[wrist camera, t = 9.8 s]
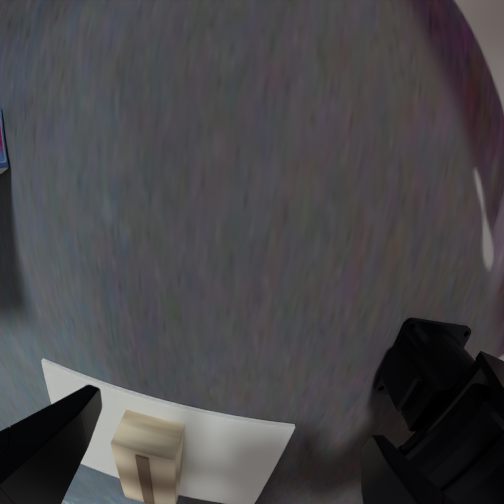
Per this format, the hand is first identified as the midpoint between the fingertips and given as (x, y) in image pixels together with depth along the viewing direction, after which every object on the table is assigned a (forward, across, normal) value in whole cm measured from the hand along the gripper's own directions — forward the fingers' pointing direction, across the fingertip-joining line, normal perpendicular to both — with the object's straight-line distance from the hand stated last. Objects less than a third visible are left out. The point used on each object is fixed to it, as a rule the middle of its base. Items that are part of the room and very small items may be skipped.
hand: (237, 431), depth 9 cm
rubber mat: (+11, +5, +19) cm, 23 cm away
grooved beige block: (+11, +5, +18) cm, 21 cm away
